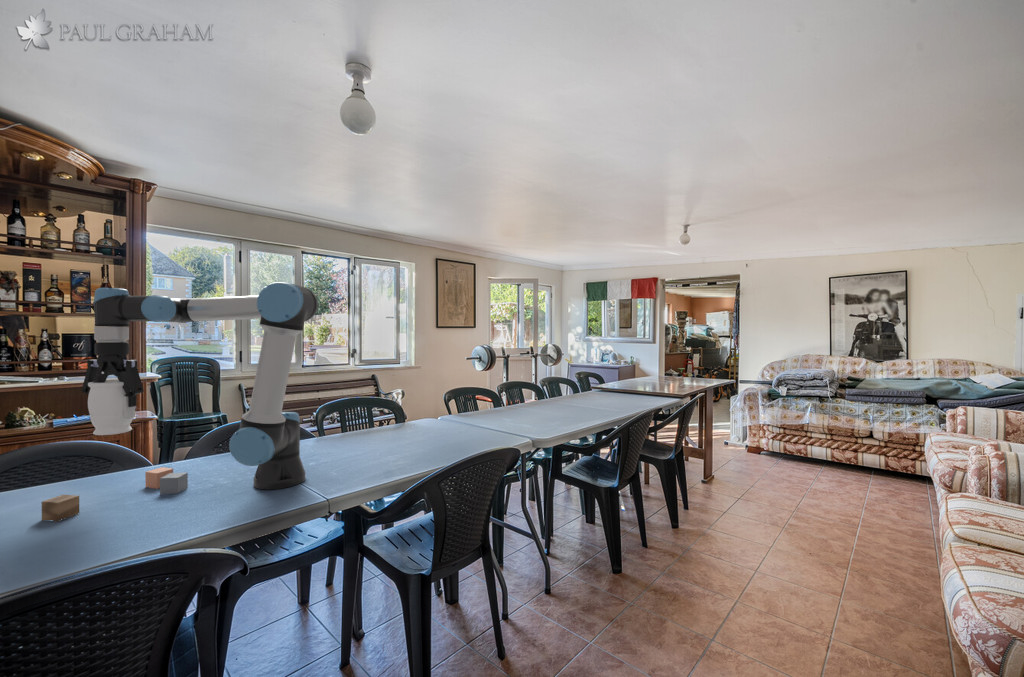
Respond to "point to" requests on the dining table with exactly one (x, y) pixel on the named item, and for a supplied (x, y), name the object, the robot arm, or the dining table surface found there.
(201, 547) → the dining table surface
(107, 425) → the jar
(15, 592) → the dining table surface
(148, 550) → the dining table surface
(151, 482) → the terracotta block
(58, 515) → the walnut block
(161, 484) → the grey block
